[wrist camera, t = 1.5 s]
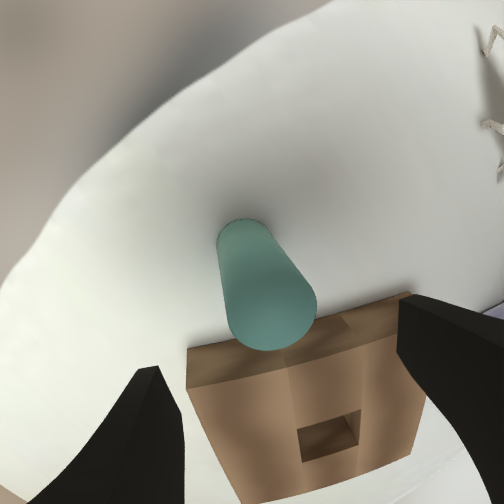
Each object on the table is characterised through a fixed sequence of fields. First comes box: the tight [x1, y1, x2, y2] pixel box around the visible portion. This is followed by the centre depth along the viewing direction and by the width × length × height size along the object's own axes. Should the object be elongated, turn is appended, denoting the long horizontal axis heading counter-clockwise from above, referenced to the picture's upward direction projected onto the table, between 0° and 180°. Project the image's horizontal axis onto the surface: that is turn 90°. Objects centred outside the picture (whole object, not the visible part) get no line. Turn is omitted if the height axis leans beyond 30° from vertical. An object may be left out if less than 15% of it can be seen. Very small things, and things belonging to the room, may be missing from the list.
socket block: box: [186, 292, 426, 504], centre depth 22 cm, size 16×16×4 cm
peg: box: [217, 219, 317, 351], centre depth 15 cm, size 3×3×8 cm
